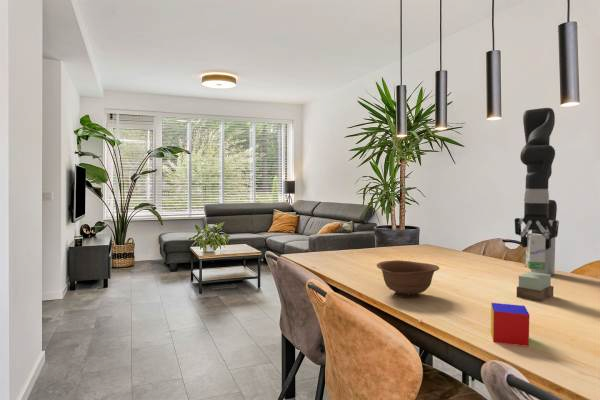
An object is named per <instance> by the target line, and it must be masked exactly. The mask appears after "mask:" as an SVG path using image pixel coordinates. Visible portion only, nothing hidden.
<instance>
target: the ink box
mask: <svg viewBox="0 0 600 400" xmlns="http://www.w3.org/2000/svg"><path fill="white" fill-rule="evenodd" d="M526 237H527V247H525V249H526V250H525V265H526V266H527V268H528V269H529V270H531V269H538V270H545V241H546V237H545V236H543V235H542V234H533V233H532V232H528V234H527V235H526Z"/></svg>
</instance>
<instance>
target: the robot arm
mask: <svg viewBox="0 0 600 400" xmlns="http://www.w3.org/2000/svg"><path fill="white" fill-rule="evenodd" d="M555 115H556V114H555V111H554V109H553V108H551V107H541V108H533V109H527V110H525V111H524V112H523V115H522V116H523V117H522V121H523V122H522V123H523V130H524V131H523V132H524V139H525V141H524V142H525V145H524V146H523V147H522V149H521V151H520V156H519V157H520V161H521V163H522V164H523V165H525V166H526V176H525V192H524V198H523V200H524V203H523V204H524V206H523V207H524V208H523V209H524V210H523V211H524V213H523V214H524V215H523V217H521V218H520V217H516V218H514V233H515V235H518V236H519V237H520V245H521V246H522V248H526V247H527V234H528V233H530V231H531V233H533V234H542V235H543V236H545V237H546V241H545V270H538V269H530V272H534V273H541V274H548V275H551V276H554V275H555V269H556V268H555V266H556V265H555V264H556V238H557V237H558V233H559V224H560V221H559V220H558V219H557V213H558V206H557V202H556V200H554V199H550V193H549V179H550V177H552V173H553V172H552V171H553V169H552V167H553V166H552V165H553V162H554V159H555V157H556V150H555V147H554V146H552V145H550V144H551V143H550V139H551V136H552V133H553V130H554V128H555V124H556V123H555V122H556V116H555ZM523 223H524V225H525V226H524V228H523V229H522V224H523Z"/></svg>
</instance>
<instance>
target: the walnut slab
mask: <svg viewBox="0 0 600 400" xmlns="http://www.w3.org/2000/svg"><path fill="white" fill-rule="evenodd" d="M553 297H554V286H553V285H551V286H549V287H547V288H545V289H543V290H541V291H539V290H533V289H528V288H522V287H519V285H518V286H516V298H520V299H525V300H531V301H534V302H540V303H542V302H544V301H546V300H548V299H550V298H553Z"/></svg>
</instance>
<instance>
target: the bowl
mask: <svg viewBox="0 0 600 400" xmlns="http://www.w3.org/2000/svg"><path fill="white" fill-rule="evenodd" d="M376 267H377V268H378V269H380V270H381V272H382V277H383V282H384V283H385V285H386V287H387V288H388V289H389V290H391V291H393V292H394V296H395V297H398V298H401V299H417V298H419V297H420V296H421V295H420V294H421V293H424V292H425V291H427V290H428V288H430V285H431V284H432V281H433V276H434V274H435V272H436V271H438V270H439V269H440V267H439V266H438V265H437V264H433V263H426V262H425V263H424V262H417V261H412V260H411V261H410V260H397V259H396V260H385V261H380V262H377V263H376Z"/></svg>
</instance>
